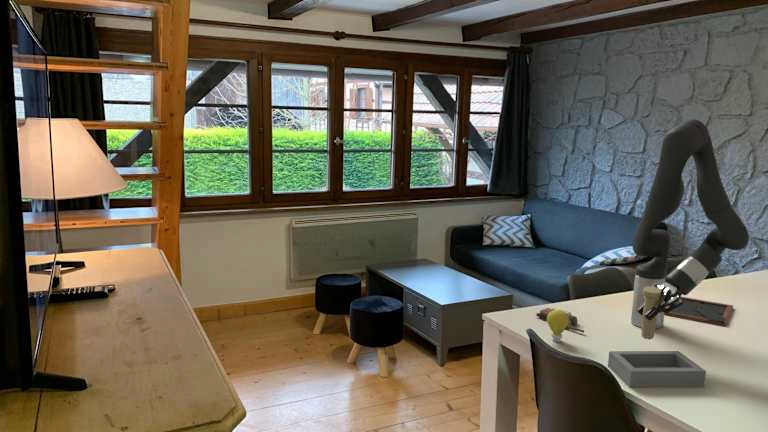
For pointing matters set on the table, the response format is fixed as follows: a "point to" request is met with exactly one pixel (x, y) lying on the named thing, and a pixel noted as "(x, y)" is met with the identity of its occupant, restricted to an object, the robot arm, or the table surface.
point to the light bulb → (557, 323)
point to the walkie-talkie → (572, 319)
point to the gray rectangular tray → (656, 369)
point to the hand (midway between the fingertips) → (643, 315)
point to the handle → (650, 302)
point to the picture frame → (702, 311)
